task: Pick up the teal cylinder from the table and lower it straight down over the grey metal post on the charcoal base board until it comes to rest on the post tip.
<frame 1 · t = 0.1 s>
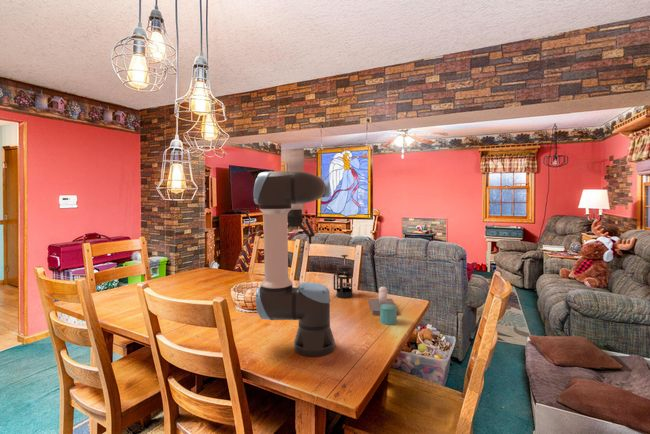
hand: (295, 250, 169), 28 cm above the table, tool pointing down, fingers open, 13 cm apart
teal cylinder: (388, 321, 145), on the table
french press: (343, 296, 183), on the table
post base: (382, 308, 162), on the table
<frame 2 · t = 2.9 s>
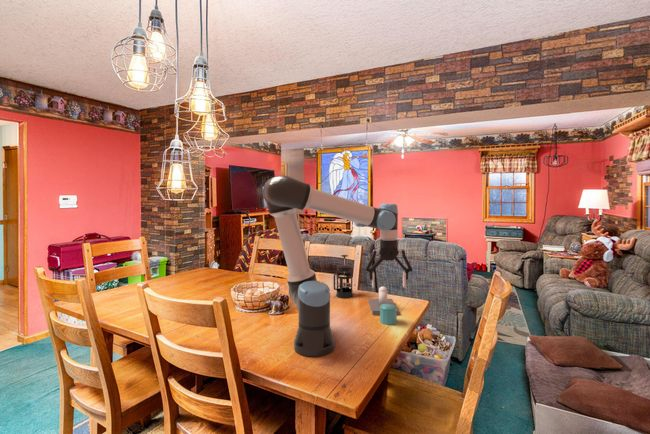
hand: (388, 286, 144), 16 cm above the table, tool pointing down, fingers open, 13 cm apart
nothing on the table moved.
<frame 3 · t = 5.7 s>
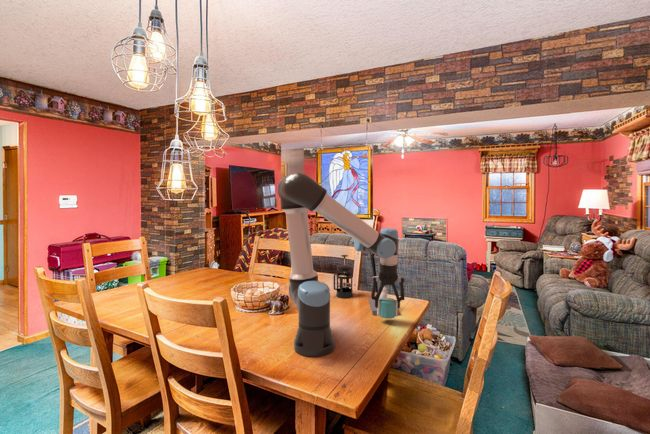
hand: (387, 315, 145), 3 cm above the table, tool pointing down, fingers closed on teal cylinder, 7 cm apart
teal cylinder: (387, 315, 145), point 3 cm above the table, touching gripper
everything else where it was.
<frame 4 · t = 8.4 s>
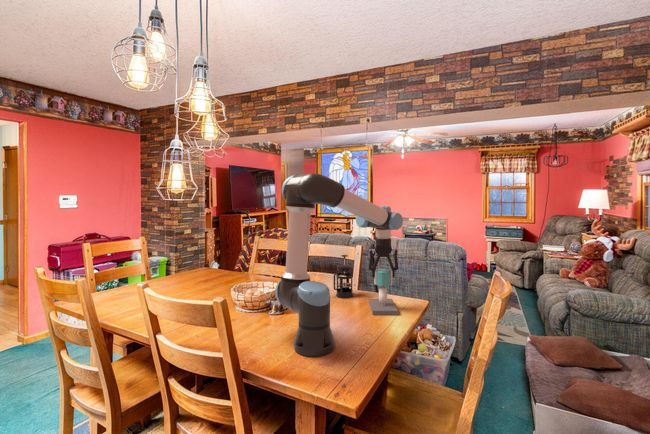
hand: (383, 283, 161), 12 cm above the table, tool pointing down, fingers closed on teal cylinder, 7 cm apart
teal cylinder: (383, 284, 161), point 12 cm above the table, touching gripper
everything else where it was.
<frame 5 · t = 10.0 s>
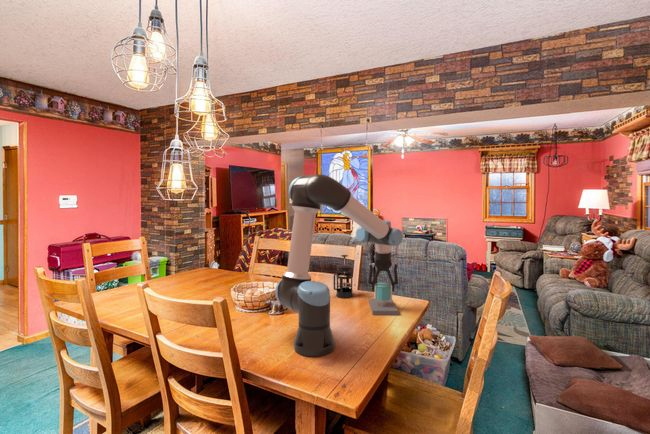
hand: (382, 297, 162), 5 cm above the table, tool pointing down, fingers closed on teal cylinder, 7 cm apart
teal cylinder: (382, 298, 162), point 5 cm above the table, touching gripper
everything else where it was.
when the fingers open (5 cm above the table, at t = 11.0 s): teal cylinder stays where it is, resting on post base.
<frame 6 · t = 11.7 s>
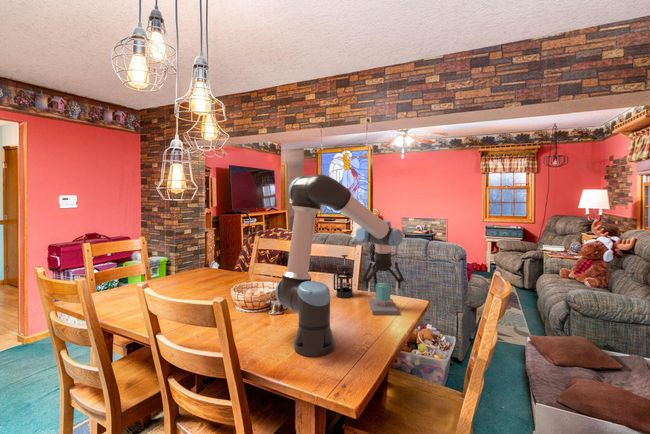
hand: (382, 294, 161), 7 cm above the table, tool pointing down, fingers open, 13 cm apart
teal cylinder: (382, 298, 162), point 5 cm above the table, touching post base
everything else where it was.
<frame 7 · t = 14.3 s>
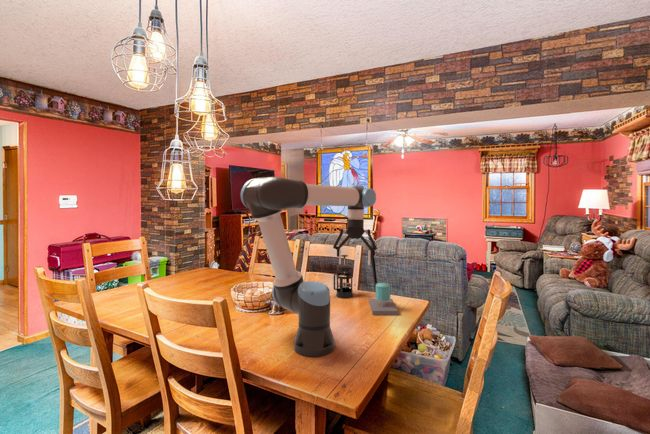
hand: (354, 264, 153), 24 cm above the table, tool pointing down, fingers open, 13 cm apart
nothing on the table moved.
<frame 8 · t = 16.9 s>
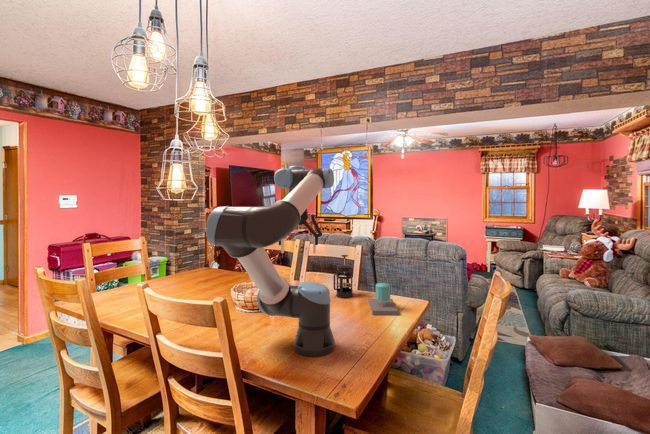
hand: (298, 252, 139), 32 cm above the table, tool pointing down, fingers open, 13 cm apart
nothing on the table moved.
at the end: teal cylinder 0.0 cm off-centre on the post base, point 5.0 cm above the post base's base; teal cylinder tilted 1°; the gripper is holding nothing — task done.
